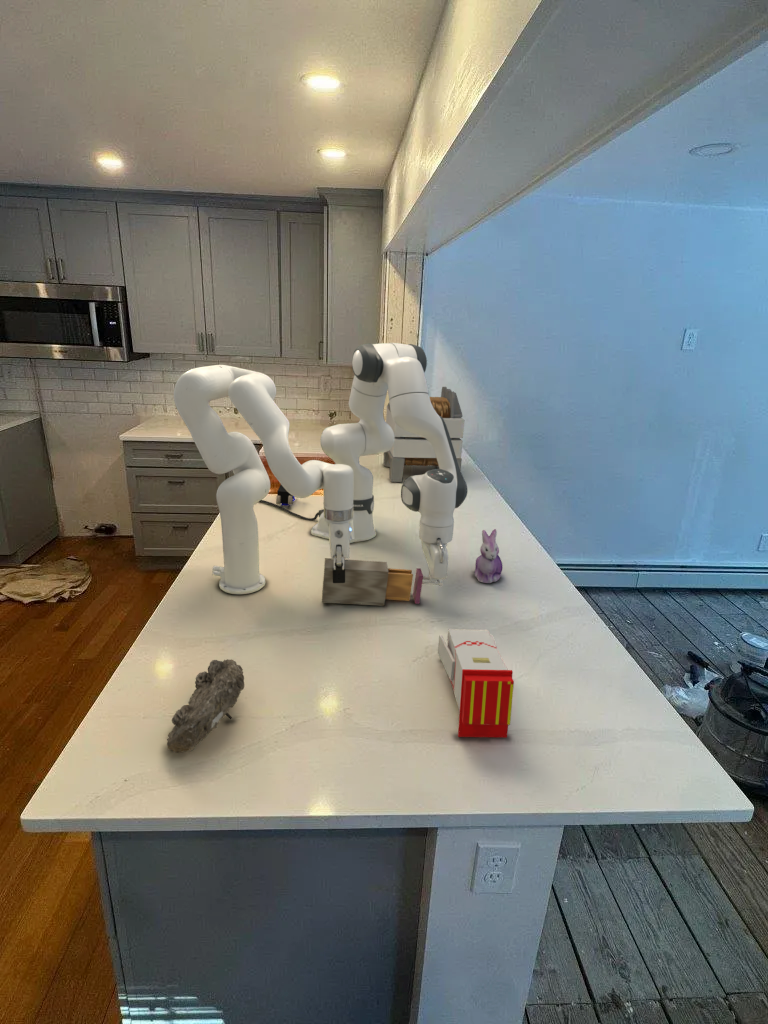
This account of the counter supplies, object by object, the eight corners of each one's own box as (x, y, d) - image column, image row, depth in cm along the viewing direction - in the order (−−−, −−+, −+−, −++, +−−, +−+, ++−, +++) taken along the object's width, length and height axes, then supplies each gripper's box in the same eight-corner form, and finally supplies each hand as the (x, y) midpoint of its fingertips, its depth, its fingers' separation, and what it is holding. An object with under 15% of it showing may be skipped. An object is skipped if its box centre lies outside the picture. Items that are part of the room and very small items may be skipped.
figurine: (485, 587, 164) (491, 539, 159) (465, 572, 172) (469, 526, 167) (511, 581, 168) (517, 534, 163) (490, 567, 176) (495, 522, 171)
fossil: (192, 660, 117) (244, 628, 112) (224, 691, 120) (276, 661, 115) (142, 746, 98) (202, 712, 93) (182, 779, 101) (242, 748, 96)
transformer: (382, 463, 289) (386, 382, 275) (445, 464, 293) (451, 384, 279) (390, 482, 257) (394, 392, 243) (460, 483, 261) (468, 394, 247)
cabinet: (382, 595, 157) (386, 562, 153) (384, 606, 151) (388, 571, 148) (322, 591, 155) (324, 557, 151) (321, 602, 149) (324, 567, 146)
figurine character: (293, 513, 218) (297, 497, 231) (292, 495, 215) (297, 480, 228) (275, 513, 218) (281, 496, 231) (274, 495, 214) (280, 479, 228)
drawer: (437, 596, 158) (441, 569, 155) (440, 605, 153) (444, 577, 150) (361, 592, 155) (364, 564, 152) (362, 600, 151) (365, 572, 148)
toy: (488, 613, 130) (523, 677, 101) (484, 667, 133) (517, 744, 104) (435, 612, 130) (455, 676, 101) (432, 666, 133) (451, 743, 103)
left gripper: (354, 525, 137) (354, 591, 143) (352, 502, 153) (352, 563, 159) (323, 525, 136) (324, 592, 142) (324, 502, 152) (325, 563, 158)
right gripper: (455, 547, 139) (451, 597, 144) (441, 518, 158) (437, 563, 163) (430, 547, 138) (426, 597, 143) (418, 518, 158) (415, 563, 162)
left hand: (338, 576), depth 150 cm, fingers closed on cabinet, 6 cm apart
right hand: (432, 579), depth 153 cm, fingers closed
